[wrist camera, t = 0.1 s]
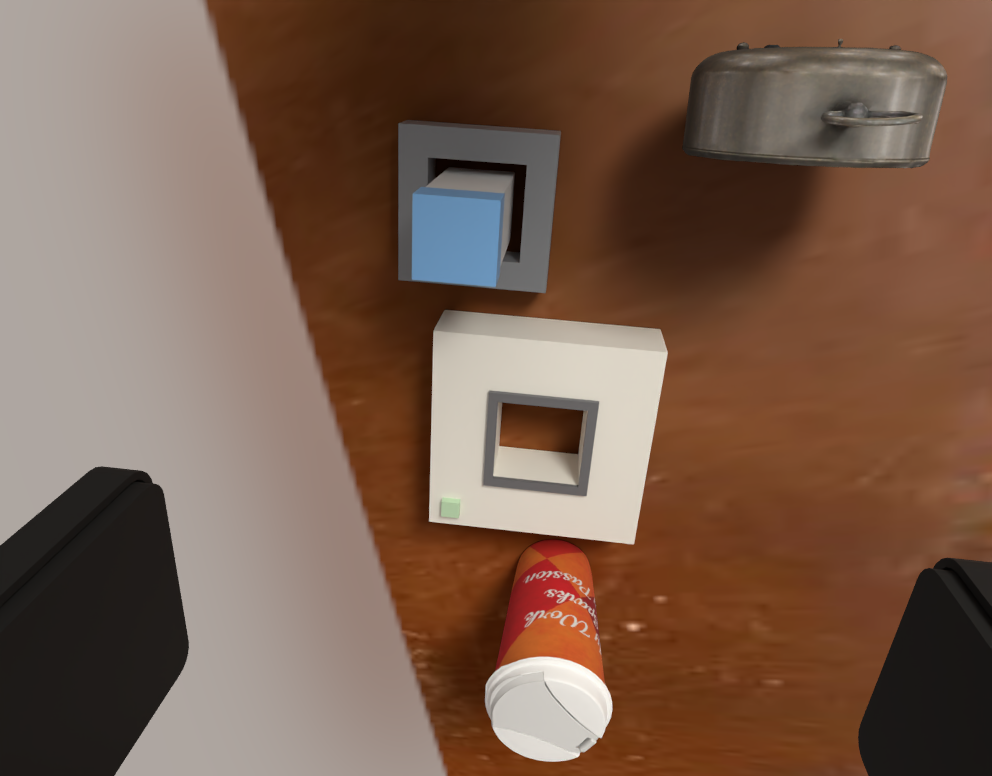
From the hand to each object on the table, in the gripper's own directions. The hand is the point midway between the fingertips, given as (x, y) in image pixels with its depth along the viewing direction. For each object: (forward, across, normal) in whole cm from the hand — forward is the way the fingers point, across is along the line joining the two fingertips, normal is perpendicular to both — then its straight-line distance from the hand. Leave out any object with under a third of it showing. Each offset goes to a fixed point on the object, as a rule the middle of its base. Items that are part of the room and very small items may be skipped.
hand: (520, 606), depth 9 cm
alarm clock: (+37, -11, -5) cm, 39 cm away
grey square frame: (+37, +5, +2) cm, 37 cm away
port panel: (+37, 0, +16) cm, 40 cm away
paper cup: (+37, -2, +29) cm, 47 cm away
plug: (+37, +5, +2) cm, 37 cm away
